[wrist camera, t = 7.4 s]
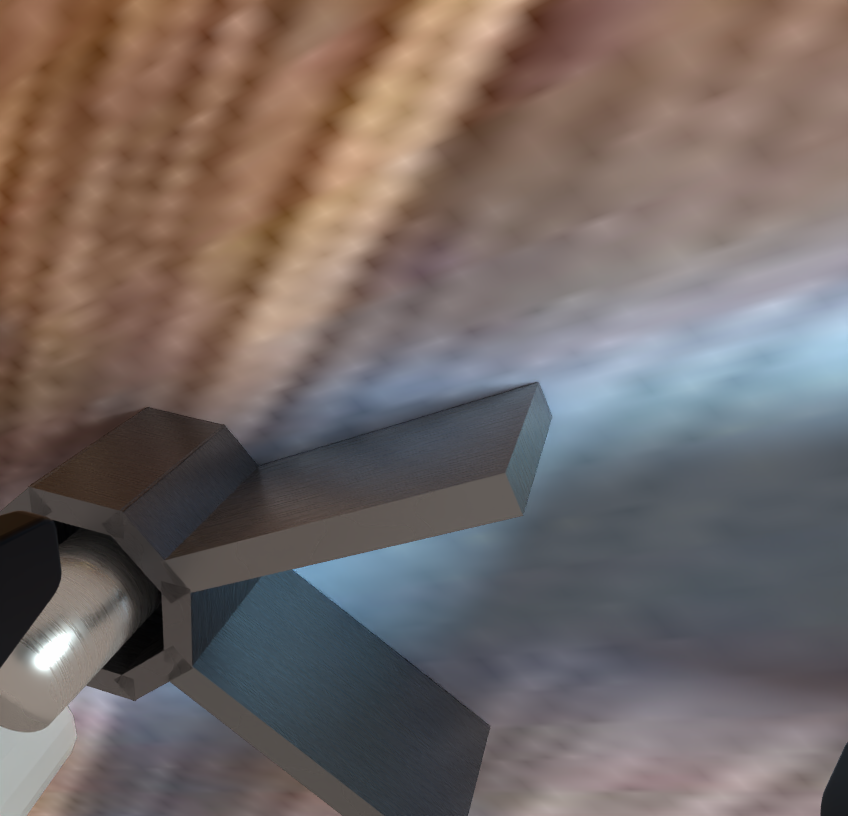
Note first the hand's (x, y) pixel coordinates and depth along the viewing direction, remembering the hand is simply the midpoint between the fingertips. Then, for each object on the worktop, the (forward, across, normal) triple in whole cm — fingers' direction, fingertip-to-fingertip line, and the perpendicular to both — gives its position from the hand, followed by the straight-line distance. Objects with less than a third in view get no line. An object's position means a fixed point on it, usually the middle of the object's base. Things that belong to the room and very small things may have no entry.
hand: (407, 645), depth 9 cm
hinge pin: (+12, +10, +8) cm, 17 cm away
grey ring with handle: (+12, +6, +8) cm, 16 cm away
